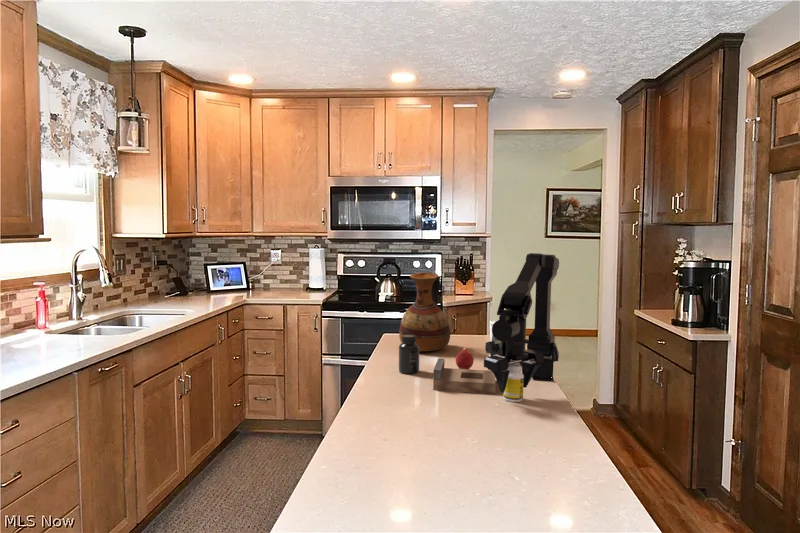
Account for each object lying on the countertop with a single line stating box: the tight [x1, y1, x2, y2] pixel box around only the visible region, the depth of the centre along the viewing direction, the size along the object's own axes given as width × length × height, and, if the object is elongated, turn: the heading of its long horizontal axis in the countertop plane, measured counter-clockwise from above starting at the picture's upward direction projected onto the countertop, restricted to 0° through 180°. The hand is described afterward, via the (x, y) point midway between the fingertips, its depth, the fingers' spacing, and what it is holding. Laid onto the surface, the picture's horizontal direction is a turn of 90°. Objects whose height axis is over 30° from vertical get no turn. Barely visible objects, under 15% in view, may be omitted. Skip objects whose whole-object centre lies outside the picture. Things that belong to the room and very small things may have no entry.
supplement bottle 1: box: [398, 335, 420, 375], centre depth 183 cm, size 7×7×12 cm
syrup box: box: [488, 320, 505, 358], centre depth 198 cm, size 6×6×14 cm
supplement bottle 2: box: [502, 363, 524, 403], centre depth 156 cm, size 5×5×10 cm
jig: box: [432, 357, 496, 395], centre depth 170 cm, size 18×14×6 cm
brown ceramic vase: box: [398, 271, 451, 352], centre depth 216 cm, size 20×20×30 cm
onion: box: [455, 347, 474, 369], centre depth 184 cm, size 6×6×8 cm
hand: (513, 389), depth 157 cm, fingers open, 9 cm apart
